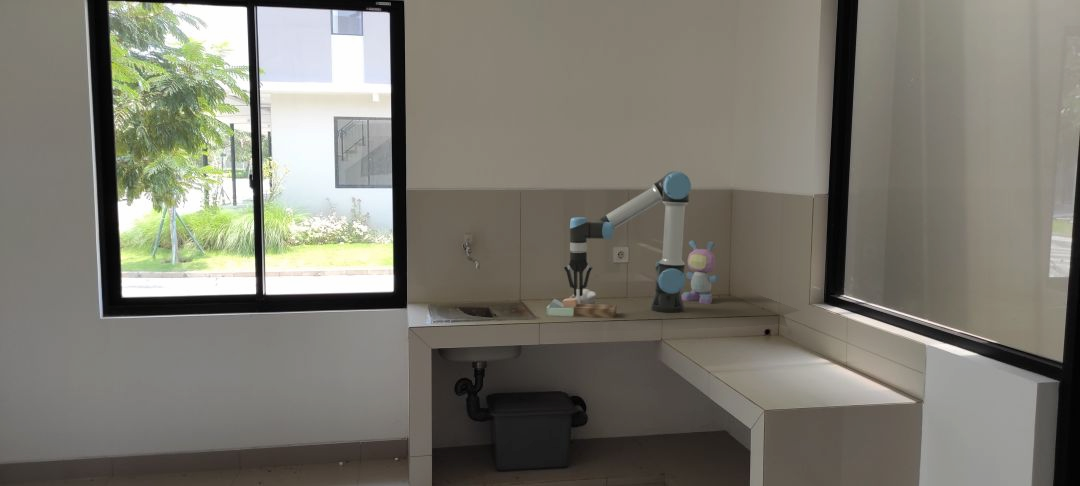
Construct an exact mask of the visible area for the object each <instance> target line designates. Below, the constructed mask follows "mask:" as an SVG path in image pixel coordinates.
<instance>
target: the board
mask: <svg viewBox="0 0 1080 486" xmlns="http://www.w3.org/2000/svg"><path fill="white" fill-rule="evenodd" d="M617 307H618V306H617V304H604V303H603V304H602V303H601V304H600V303H593V304H582V303H579V304H578V305H577V306H575V307H574V316H573V317H582V318H583V317H585V318H587V317H588V318H589V317H590V318H605V319H606V318H607V319H608V318H609V319H614V317H615V316H616V315H617Z"/></svg>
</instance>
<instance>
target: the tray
mask: <svg viewBox="0 0 1080 486" xmlns="http://www.w3.org/2000/svg"><path fill="white" fill-rule="evenodd" d="M549 306H550V304H548V305H547V306H546V307H545V316H546V317H547V316H548V317H549V316H550V317H551V316H553V317H570V318H571V317H575V316H574V307H565V308H551V307H549Z"/></svg>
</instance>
